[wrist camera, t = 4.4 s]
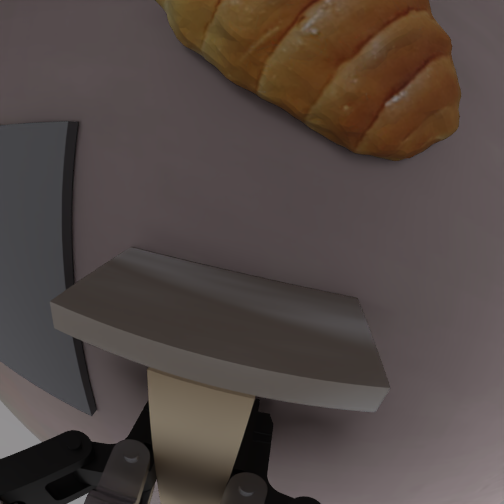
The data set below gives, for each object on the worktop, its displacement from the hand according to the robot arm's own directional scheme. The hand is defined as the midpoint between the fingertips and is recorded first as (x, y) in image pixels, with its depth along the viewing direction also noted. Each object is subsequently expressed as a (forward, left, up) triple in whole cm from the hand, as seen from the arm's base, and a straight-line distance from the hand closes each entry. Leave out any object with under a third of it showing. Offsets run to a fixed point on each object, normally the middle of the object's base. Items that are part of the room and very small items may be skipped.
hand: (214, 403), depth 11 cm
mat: (-12, +3, 0) cm, 12 cm away
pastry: (+1, +15, -1) cm, 15 cm away
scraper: (0, 0, 0) cm, 0 cm away
